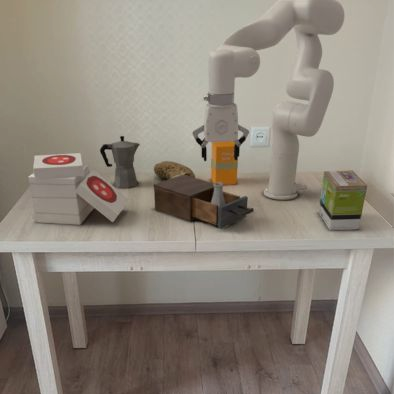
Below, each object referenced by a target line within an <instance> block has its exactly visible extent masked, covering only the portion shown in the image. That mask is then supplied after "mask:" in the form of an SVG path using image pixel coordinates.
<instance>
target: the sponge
mask: <svg viewBox="0 0 394 394" xmlns="http://www.w3.org/2000/svg"><path fill="white" fill-rule="evenodd" d="M153 171H154V172H153V173H154V174H155V175H156V176H157V177H159V178H161V179H164V180H169V179H172V178H175V177H178V176H181V175H187V176H190V177H194V178H196V174H195V173H194V171H193V170H192V169H191V168H190V167H188V166H186V165H184V164H181V163H178V162H175V161H168V160H167V161H166V160H165V161H160V162H158V163H155V165H153Z"/></svg>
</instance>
